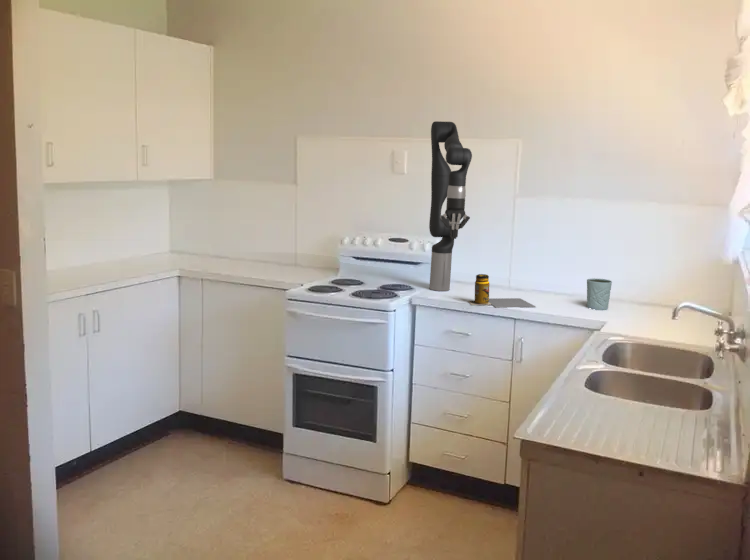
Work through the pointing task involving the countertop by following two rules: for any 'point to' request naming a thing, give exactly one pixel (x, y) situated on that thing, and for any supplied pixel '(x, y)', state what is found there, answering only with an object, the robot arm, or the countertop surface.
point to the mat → (509, 302)
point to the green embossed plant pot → (598, 293)
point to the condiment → (481, 290)
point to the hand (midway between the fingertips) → (453, 238)
